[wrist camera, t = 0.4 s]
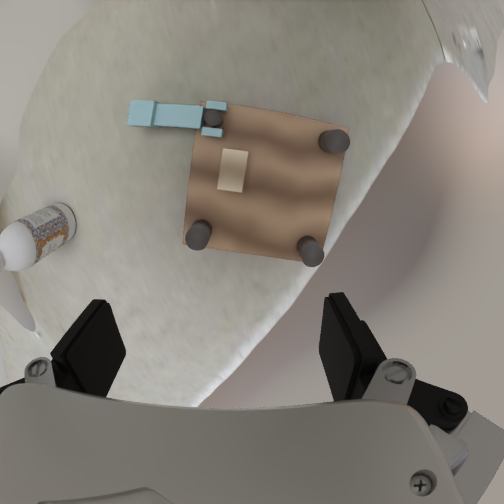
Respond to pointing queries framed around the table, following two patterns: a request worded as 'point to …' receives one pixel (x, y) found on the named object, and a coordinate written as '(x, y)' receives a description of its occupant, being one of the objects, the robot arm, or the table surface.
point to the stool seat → (264, 184)
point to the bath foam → (35, 236)
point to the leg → (174, 116)
